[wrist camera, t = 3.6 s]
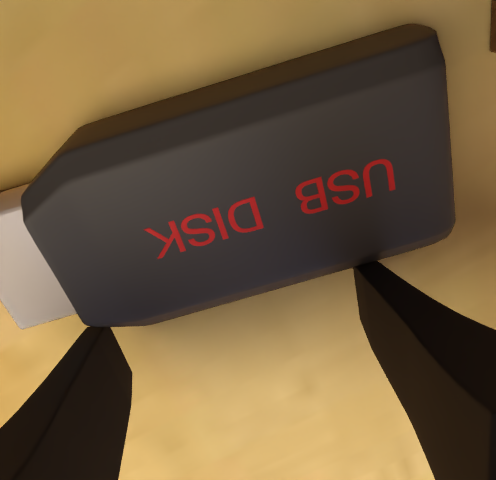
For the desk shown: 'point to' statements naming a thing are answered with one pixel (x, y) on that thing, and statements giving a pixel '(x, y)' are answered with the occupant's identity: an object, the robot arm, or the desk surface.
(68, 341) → the desk surface
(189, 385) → the desk surface
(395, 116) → the usb drive
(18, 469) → the robot arm
